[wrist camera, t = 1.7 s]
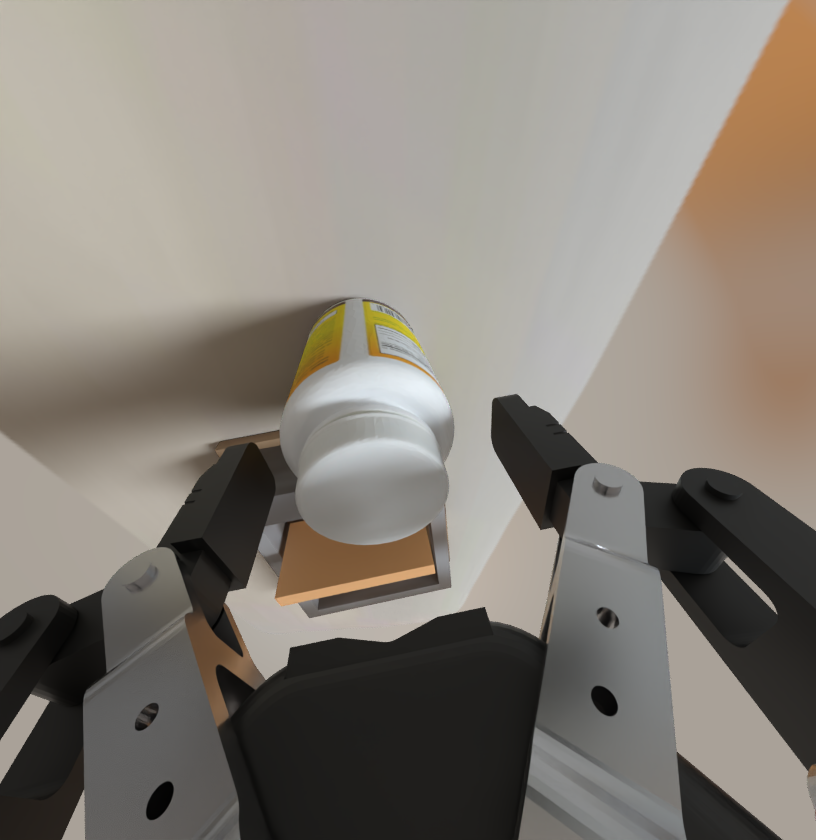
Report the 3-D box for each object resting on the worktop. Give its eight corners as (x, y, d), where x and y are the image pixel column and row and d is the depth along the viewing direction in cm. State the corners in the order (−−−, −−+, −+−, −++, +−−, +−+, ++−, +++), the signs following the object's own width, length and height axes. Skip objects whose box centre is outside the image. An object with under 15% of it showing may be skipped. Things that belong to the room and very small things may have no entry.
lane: (219, 441, 18) (182, 506, 14) (434, 401, 18) (455, 452, 15) (310, 582, 28) (302, 642, 24) (447, 553, 28) (462, 607, 24)
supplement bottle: (318, 398, 17) (284, 574, 9) (299, 295, 14) (220, 419, 6) (414, 392, 18) (466, 550, 10) (417, 293, 15) (498, 401, 6)
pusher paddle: (290, 523, 21) (274, 598, 17) (419, 497, 21) (434, 564, 17) (294, 531, 22) (281, 606, 18) (420, 506, 22) (435, 573, 18)
